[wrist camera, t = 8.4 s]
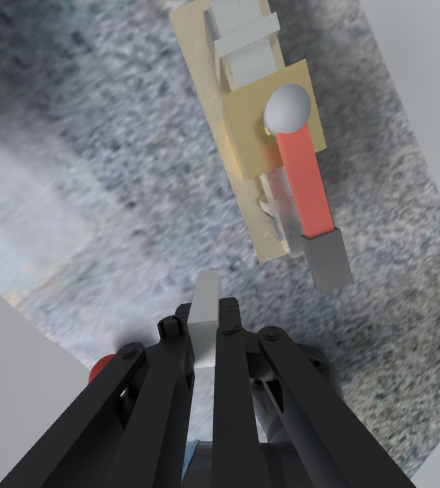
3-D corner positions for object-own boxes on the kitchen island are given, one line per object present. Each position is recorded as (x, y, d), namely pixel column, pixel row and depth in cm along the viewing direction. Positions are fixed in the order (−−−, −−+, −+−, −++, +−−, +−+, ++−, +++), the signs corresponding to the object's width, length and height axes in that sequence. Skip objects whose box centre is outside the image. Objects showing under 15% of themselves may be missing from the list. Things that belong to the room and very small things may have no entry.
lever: (257, 103, 16) (261, 94, 15) (295, 86, 16) (305, 74, 14) (312, 284, 20) (321, 294, 19) (344, 273, 20) (355, 282, 18)
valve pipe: (325, 235, 31) (381, 264, 20) (258, 260, 32) (277, 300, 21) (256, -19, 23) (288, -195, 12) (171, 23, 24) (132, -104, 13)
